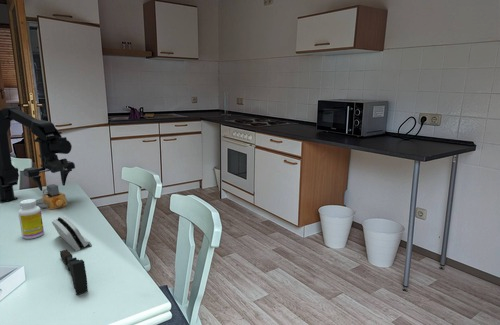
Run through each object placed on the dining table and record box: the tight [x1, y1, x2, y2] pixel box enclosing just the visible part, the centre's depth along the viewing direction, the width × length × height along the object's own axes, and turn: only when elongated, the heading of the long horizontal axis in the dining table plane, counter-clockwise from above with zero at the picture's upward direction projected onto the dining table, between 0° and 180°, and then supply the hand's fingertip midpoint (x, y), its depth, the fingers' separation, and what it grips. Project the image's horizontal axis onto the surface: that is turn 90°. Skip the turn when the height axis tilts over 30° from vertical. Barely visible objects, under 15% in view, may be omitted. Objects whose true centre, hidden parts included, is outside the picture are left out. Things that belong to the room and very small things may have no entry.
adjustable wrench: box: [59, 248, 89, 296], centre depth 100 cm, size 8×3×25 cm
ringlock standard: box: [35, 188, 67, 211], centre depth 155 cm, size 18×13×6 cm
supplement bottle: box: [17, 198, 45, 240], centre depth 124 cm, size 7×7×13 cm
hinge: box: [51, 215, 93, 252], centre depth 119 cm, size 17×5×10 cm, turn 45°
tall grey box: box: [46, 183, 60, 197], centre depth 153 cm, size 4×3×8 cm
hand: (52, 188), depth 152 cm, fingers open, 9 cm apart
